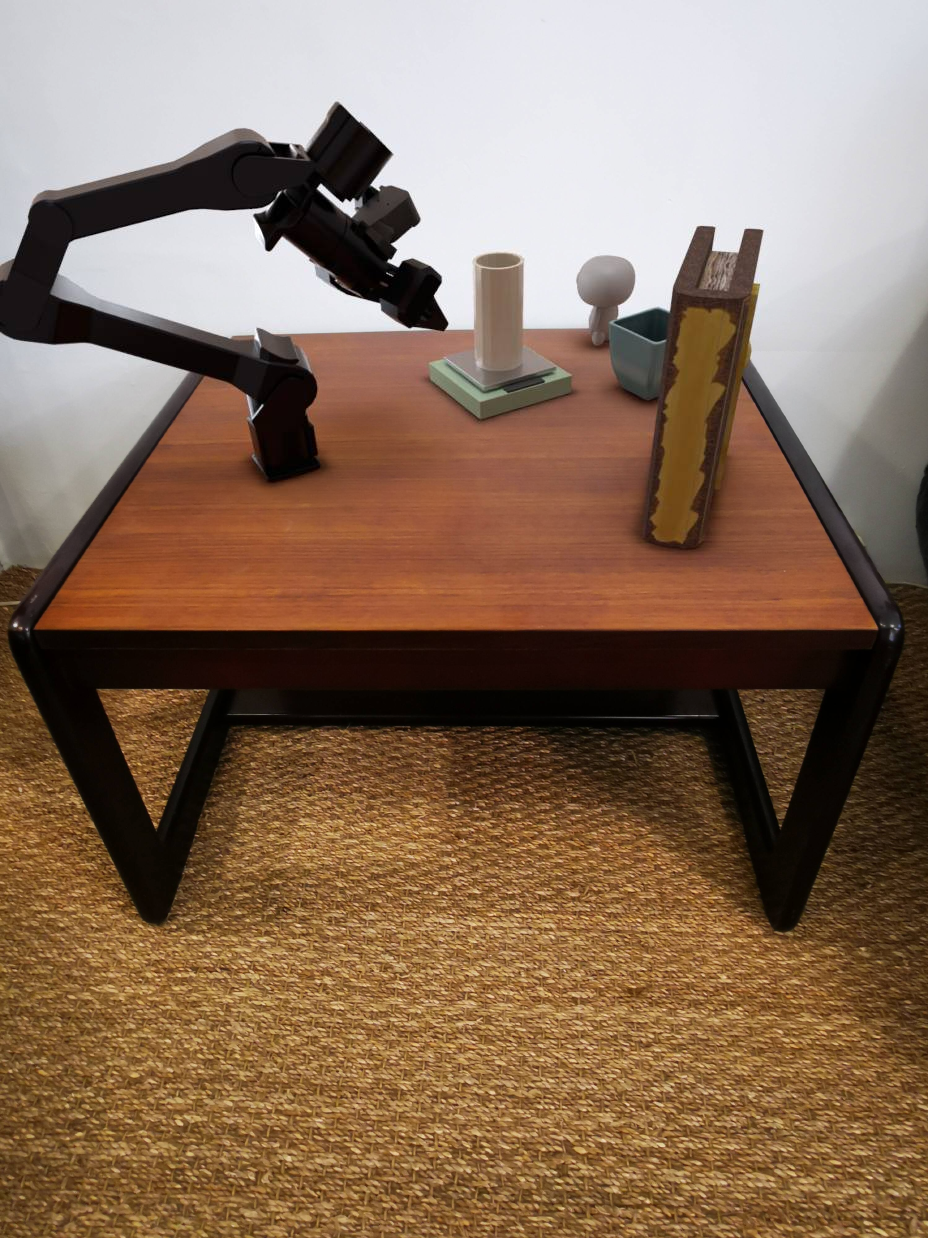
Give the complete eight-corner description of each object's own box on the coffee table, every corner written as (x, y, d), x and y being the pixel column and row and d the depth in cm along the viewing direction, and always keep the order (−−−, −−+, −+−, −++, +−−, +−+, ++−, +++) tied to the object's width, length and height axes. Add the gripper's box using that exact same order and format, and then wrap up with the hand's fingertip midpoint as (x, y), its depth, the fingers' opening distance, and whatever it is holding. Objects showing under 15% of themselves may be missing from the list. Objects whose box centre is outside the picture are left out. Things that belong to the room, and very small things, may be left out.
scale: (480, 419, 105) (479, 399, 103) (429, 379, 115) (428, 360, 113) (571, 392, 110) (572, 372, 108) (515, 356, 120) (515, 337, 118)
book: (712, 553, 82) (763, 301, 66) (627, 539, 85) (656, 292, 68) (731, 446, 98) (777, 221, 82) (659, 437, 100) (689, 216, 84)
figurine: (593, 328, 126) (599, 245, 118) (637, 339, 123) (646, 254, 115) (564, 346, 122) (568, 261, 114) (609, 358, 118) (616, 271, 110)
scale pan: (484, 391, 105) (484, 386, 104) (443, 360, 112) (443, 356, 112) (556, 370, 109) (556, 366, 108) (512, 342, 116) (512, 338, 116)
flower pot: (696, 392, 109) (707, 325, 103) (647, 412, 105) (656, 343, 99) (649, 370, 115) (657, 305, 109) (601, 387, 111) (606, 321, 105)
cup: (520, 372, 107) (521, 268, 99) (472, 370, 108) (469, 268, 100) (524, 351, 112) (525, 251, 103) (478, 350, 113) (475, 251, 104)
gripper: (419, 180, 77) (511, 274, 89) (323, 148, 89) (415, 235, 101) (357, 286, 79) (455, 364, 91) (271, 241, 91) (367, 315, 103)
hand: (423, 315), depth 97 cm, fingers open, 9 cm apart
